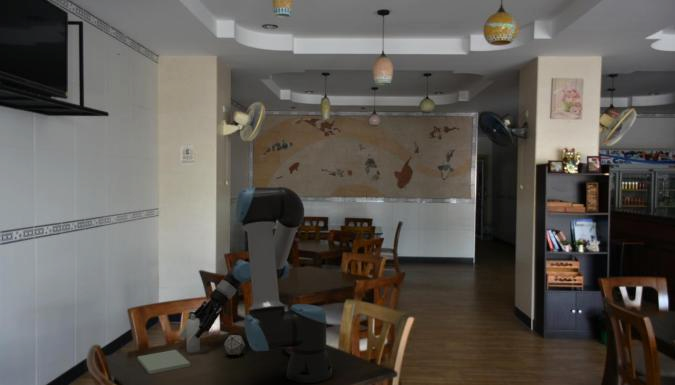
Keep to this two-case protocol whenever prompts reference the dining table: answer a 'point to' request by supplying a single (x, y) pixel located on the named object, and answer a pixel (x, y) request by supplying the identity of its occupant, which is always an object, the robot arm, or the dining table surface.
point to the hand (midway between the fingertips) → (185, 341)
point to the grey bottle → (190, 329)
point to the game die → (234, 345)
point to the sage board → (163, 361)
